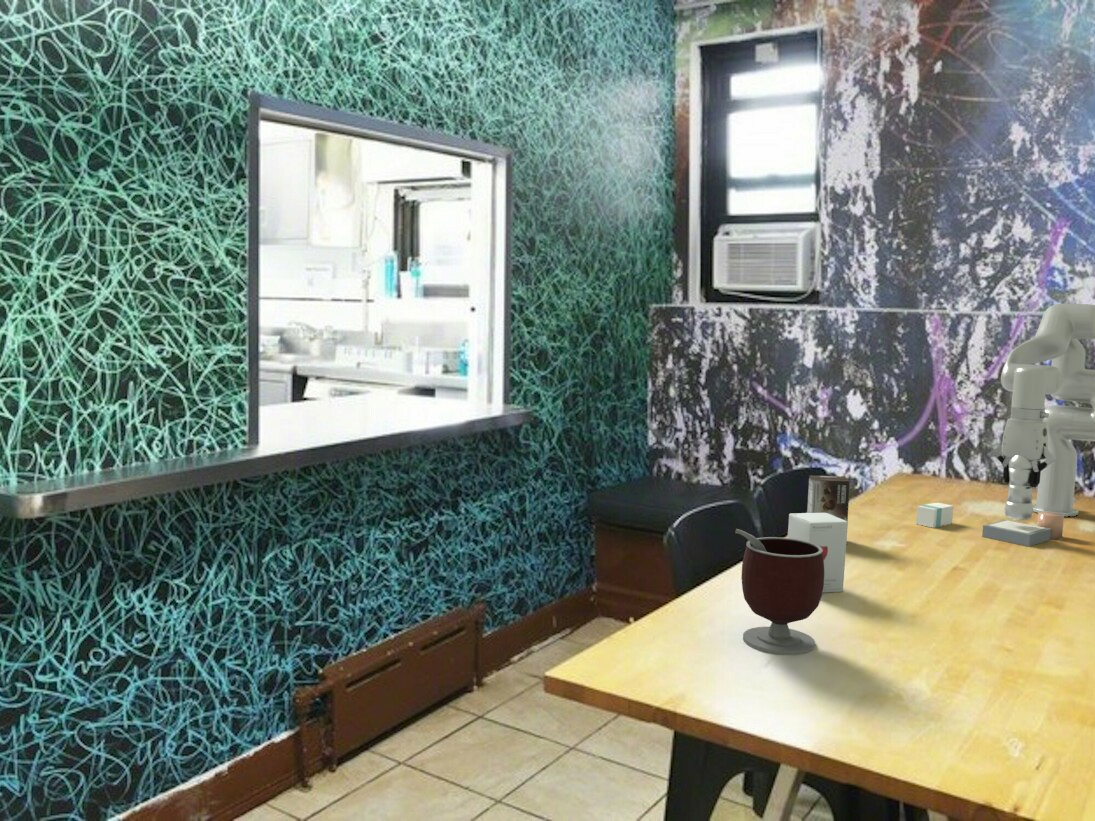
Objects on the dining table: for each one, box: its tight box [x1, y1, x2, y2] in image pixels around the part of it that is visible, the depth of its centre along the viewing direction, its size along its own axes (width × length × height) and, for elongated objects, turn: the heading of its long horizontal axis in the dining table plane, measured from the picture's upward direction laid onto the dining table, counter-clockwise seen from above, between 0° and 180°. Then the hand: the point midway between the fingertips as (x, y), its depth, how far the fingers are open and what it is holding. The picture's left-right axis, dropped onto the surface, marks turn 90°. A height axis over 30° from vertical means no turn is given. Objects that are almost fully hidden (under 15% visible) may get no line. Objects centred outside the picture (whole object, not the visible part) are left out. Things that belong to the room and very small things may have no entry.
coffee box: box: [806, 474, 851, 544], centre depth 242 cm, size 9×6×16 cm
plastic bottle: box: [1004, 455, 1034, 522], centre depth 250 cm, size 6×7×20 cm
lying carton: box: [915, 502, 954, 529], centre depth 266 cm, size 10×5×5 cm, turn 129°
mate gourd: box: [735, 528, 825, 656], centre depth 168 cm, size 16×14×20 cm
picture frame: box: [981, 519, 1051, 547], centre depth 252 cm, size 12×12×3 cm
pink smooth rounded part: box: [1036, 512, 1065, 540], centre depth 255 cm, size 6×6×6 cm
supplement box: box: [787, 512, 849, 594], centre depth 202 cm, size 9×9×15 cm
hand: (1020, 483), depth 250 cm, fingers closed on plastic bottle, 5 cm apart
